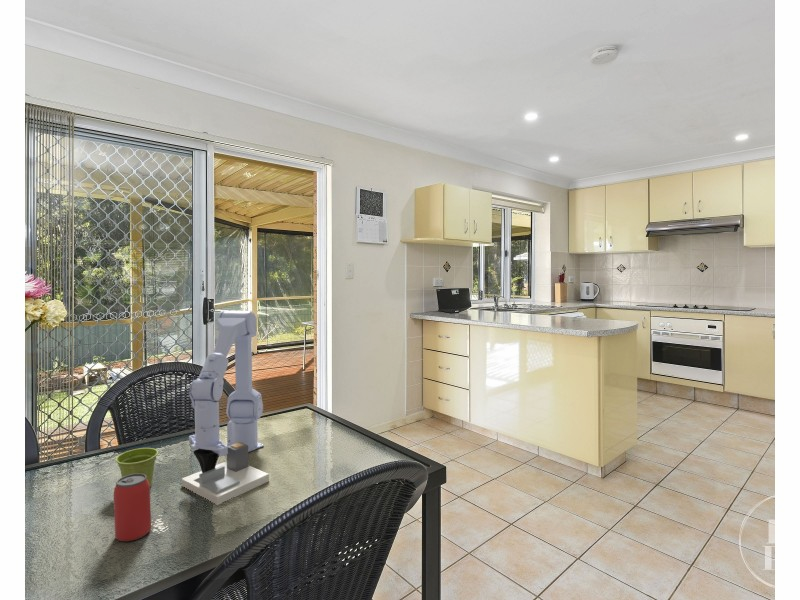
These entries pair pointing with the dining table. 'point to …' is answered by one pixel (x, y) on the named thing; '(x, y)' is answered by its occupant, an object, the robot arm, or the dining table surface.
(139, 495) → the beer can
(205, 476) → the shutter
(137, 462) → the plant pot
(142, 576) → the dining table surface
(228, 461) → the grey rectangular block
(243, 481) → the socket board
